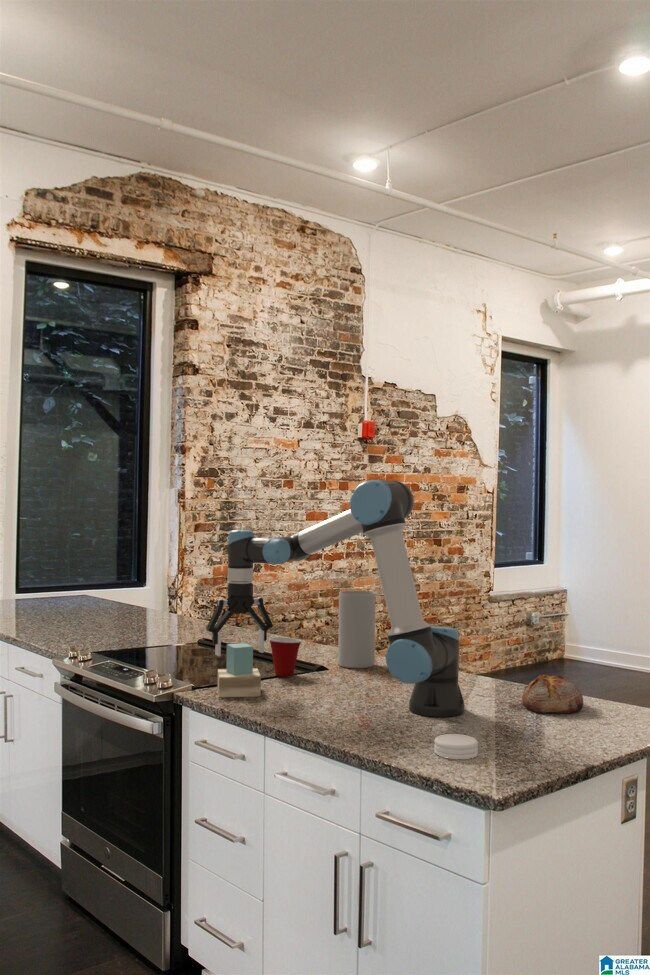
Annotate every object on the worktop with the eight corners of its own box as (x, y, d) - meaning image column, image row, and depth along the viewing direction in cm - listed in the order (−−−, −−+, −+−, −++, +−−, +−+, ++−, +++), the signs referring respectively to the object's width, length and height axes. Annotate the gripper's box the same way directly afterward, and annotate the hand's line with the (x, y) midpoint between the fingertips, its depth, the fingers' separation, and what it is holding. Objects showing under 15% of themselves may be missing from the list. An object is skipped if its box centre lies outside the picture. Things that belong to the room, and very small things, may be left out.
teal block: (252, 673, 259) (253, 646, 259) (233, 675, 257) (234, 647, 257) (244, 669, 265) (245, 643, 265) (226, 671, 262) (226, 644, 262)
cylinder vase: (366, 661, 310) (367, 590, 310) (379, 668, 298) (380, 594, 298) (333, 662, 306) (334, 591, 306) (345, 669, 294) (346, 595, 294)
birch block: (260, 697, 255) (260, 676, 255) (219, 698, 253) (219, 677, 253) (257, 687, 267) (257, 668, 267) (217, 688, 265) (217, 669, 265)
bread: (512, 714, 243) (510, 677, 244) (538, 700, 259) (537, 666, 260) (569, 719, 234) (567, 682, 234) (593, 705, 250) (591, 669, 250)
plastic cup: (308, 675, 285) (309, 638, 285) (285, 680, 277) (285, 642, 277) (284, 670, 292) (285, 634, 292) (261, 675, 284) (261, 638, 284)
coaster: (438, 746, 208) (438, 731, 208) (480, 750, 205) (480, 735, 205) (430, 758, 199) (430, 742, 199) (474, 763, 196) (474, 747, 196)
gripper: (274, 579, 269) (273, 648, 269) (196, 582, 258) (195, 654, 258) (284, 581, 262) (283, 652, 262) (204, 585, 251) (203, 659, 251)
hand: (239, 653), depth 260 cm, fingers open, 13 cm apart
